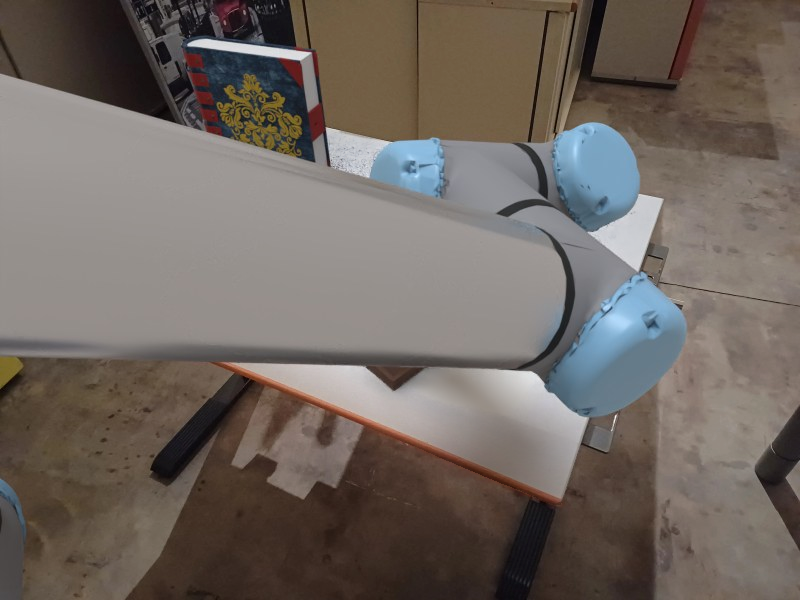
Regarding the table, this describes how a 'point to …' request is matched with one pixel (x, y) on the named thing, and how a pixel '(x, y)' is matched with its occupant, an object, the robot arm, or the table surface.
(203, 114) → the book
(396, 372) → the tray
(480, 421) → the table surface
